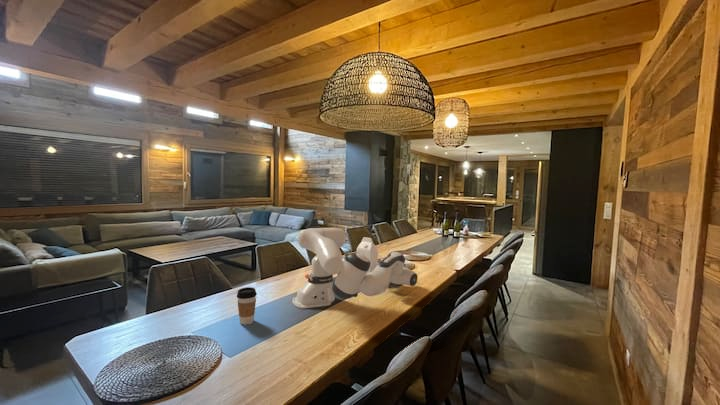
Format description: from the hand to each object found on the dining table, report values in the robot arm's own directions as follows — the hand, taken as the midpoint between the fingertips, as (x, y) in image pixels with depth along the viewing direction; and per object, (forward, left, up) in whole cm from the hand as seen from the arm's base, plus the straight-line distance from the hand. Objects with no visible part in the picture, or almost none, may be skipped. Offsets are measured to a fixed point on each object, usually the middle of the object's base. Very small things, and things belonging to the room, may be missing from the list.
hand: (382, 266), depth 191 cm
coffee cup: (-84, -14, -11) cm, 86 cm away
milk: (0, +18, -11) cm, 21 cm away
